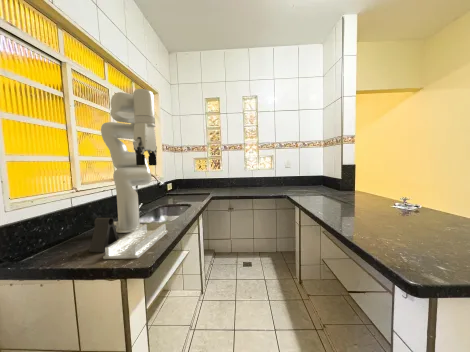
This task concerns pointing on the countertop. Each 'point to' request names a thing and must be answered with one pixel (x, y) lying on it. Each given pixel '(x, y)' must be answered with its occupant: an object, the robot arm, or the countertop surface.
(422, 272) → the countertop surface
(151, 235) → the aluminium track
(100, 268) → the countertop surface
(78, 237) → the countertop surface
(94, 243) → the phone stand
